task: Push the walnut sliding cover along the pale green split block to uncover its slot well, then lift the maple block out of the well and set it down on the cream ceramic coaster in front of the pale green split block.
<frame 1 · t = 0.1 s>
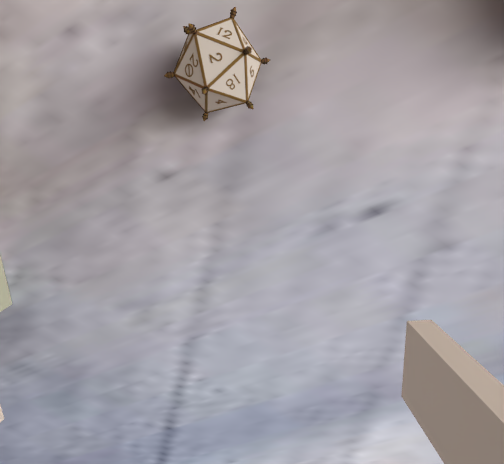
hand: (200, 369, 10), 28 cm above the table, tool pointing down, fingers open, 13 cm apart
game die: (221, 77, 34), on the table
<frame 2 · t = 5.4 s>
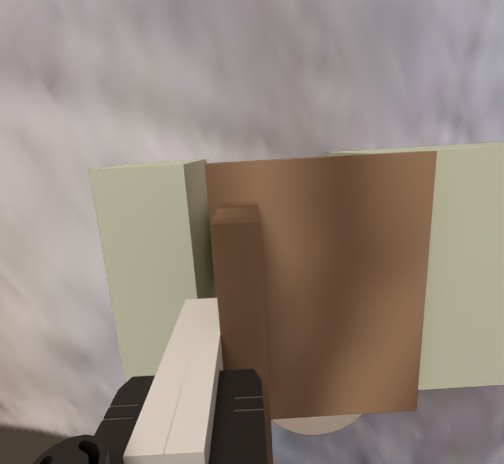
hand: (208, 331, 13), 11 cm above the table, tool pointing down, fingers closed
pale green split block: (269, 242, 23), on the table
walnut cover: (330, 317, 13), point 11 cm above the table, slide at 1.6 cm, touching gripper
cream coaster: (313, 375, 26), on the table
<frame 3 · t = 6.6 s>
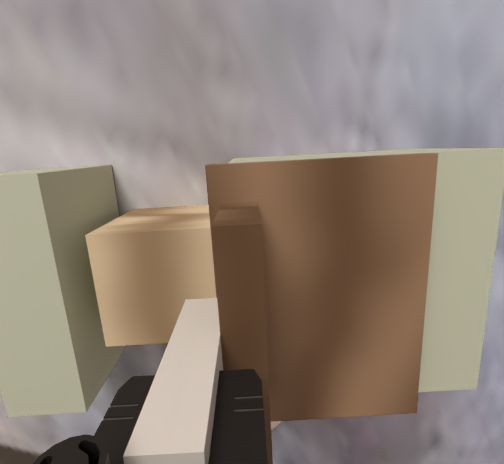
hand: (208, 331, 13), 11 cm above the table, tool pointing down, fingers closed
pale green split block: (181, 249, 23), on the table
walnut cover: (331, 319, 13), point 11 cm above the table, slide at 7.7 cm, touching gripper
maple block: (182, 248, 23), on the table
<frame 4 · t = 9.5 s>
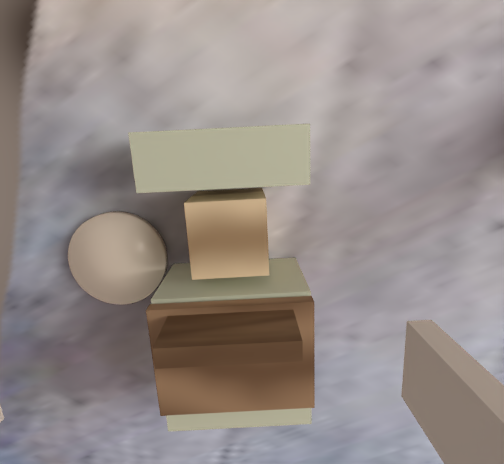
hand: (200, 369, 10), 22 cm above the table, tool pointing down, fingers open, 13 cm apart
pale green split block: (231, 221, 31), on the table
walnut cover: (233, 374, 23), point 11 cm above the table, slide at 8.7 cm
maple block: (232, 220, 32), on the table
cream coaster: (121, 256, 32), on the table
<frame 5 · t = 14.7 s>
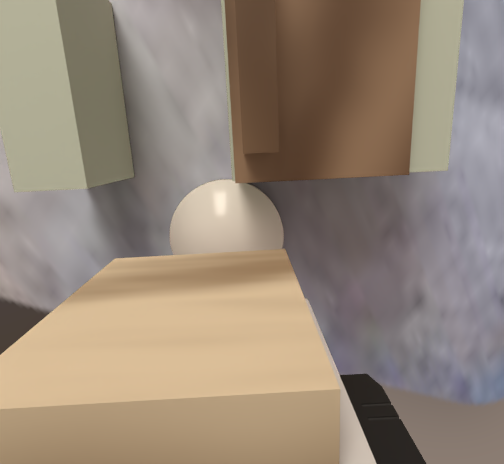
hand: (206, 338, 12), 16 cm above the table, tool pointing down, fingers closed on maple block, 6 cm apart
pale green split block: (177, 92, 24), on the table
walnut cover: (331, 40, 14), point 11 cm above the table, slide at 8.7 cm
maple block: (207, 329, 12), point 15 cm above the table, touching gripper
cream coaster: (227, 233, 27), on the table
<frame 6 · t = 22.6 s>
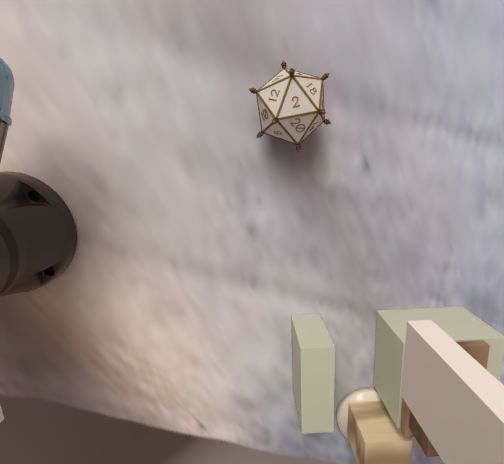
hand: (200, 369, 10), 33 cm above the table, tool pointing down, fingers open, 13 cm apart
pale green split block: (347, 350, 48), on the table
game die: (286, 111, 40), on the table
walnut cover: (453, 402, 37), point 11 cm above the table, slide at 8.7 cm
maple block: (367, 418, 49), point 1 cm above the table, touching cream coaster
cream coaster: (365, 412, 50), on the table
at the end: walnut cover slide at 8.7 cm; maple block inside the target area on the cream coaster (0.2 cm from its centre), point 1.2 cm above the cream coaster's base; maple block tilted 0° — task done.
